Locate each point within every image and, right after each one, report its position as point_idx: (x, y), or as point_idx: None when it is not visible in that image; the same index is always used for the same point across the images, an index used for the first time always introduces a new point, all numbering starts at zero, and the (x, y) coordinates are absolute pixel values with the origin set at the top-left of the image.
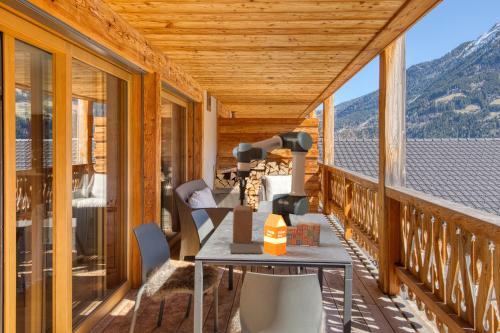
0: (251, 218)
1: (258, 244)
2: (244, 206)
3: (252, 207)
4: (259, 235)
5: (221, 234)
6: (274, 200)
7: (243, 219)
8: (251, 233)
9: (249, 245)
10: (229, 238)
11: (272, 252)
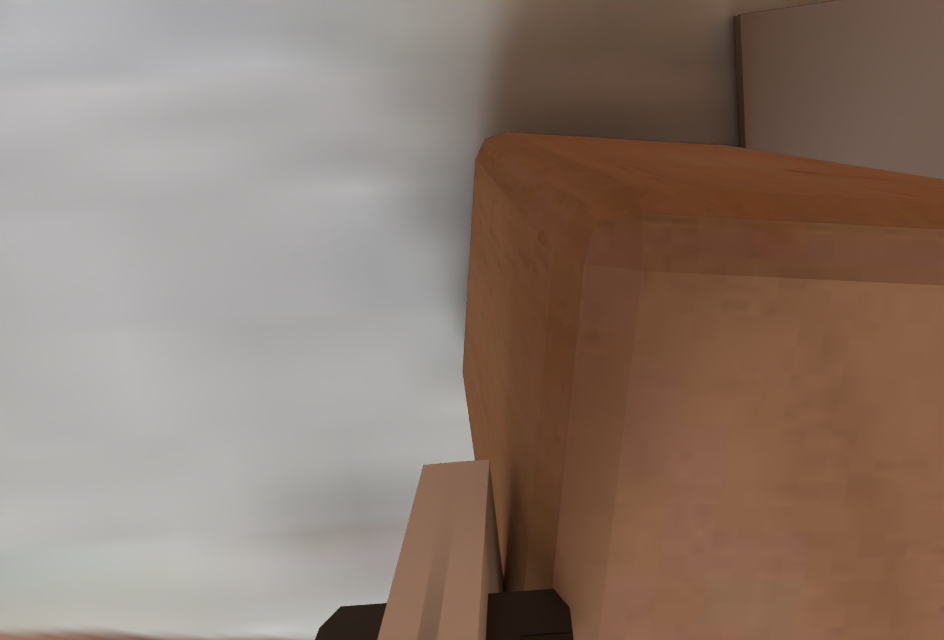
0: (831, 175)
1: (803, 7)
2: (720, 521)
3: (654, 199)
4: (45, 22)
5: (139, 572)
6: None
7: None
8: (614, 142)
9: (877, 149)
10: (361, 455)
11: None
